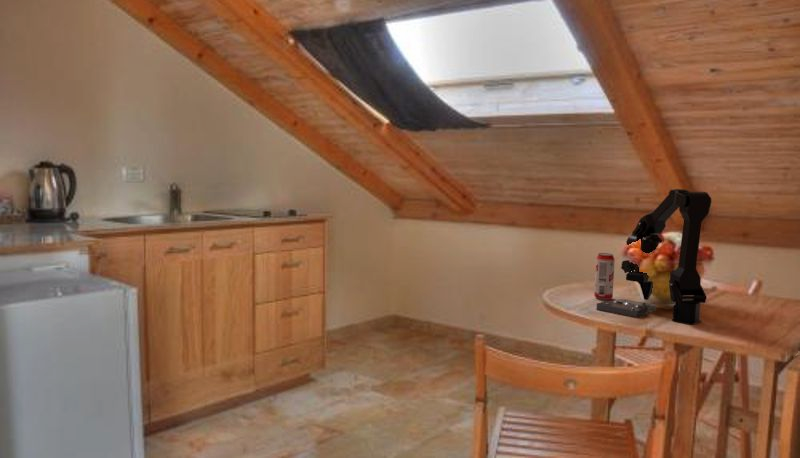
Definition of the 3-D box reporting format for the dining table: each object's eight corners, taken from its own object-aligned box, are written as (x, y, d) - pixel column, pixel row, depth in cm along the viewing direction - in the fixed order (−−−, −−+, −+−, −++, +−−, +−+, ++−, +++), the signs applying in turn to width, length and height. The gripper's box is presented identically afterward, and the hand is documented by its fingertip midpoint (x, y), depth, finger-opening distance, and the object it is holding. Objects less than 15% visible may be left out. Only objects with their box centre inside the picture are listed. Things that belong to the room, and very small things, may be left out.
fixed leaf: (649, 313, 203) (650, 306, 203) (636, 317, 198) (637, 310, 198) (609, 306, 214) (610, 299, 214) (596, 309, 208) (596, 302, 208)
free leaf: (655, 310, 209) (656, 303, 209) (643, 314, 203) (644, 306, 203) (621, 304, 218) (622, 297, 218) (609, 307, 212) (609, 300, 212)
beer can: (592, 299, 225) (594, 254, 223) (596, 296, 230) (598, 252, 229) (610, 301, 222) (613, 255, 220) (614, 298, 227) (616, 253, 226)
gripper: (639, 249, 227) (637, 292, 229) (612, 253, 215) (610, 299, 216) (670, 253, 219) (667, 297, 221) (644, 257, 207) (641, 304, 208)
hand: (646, 299), depth 217 cm, fingers closed
